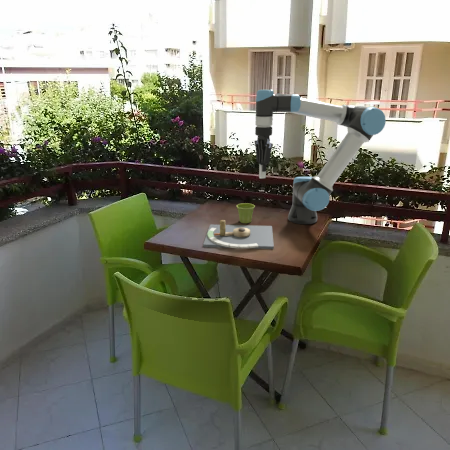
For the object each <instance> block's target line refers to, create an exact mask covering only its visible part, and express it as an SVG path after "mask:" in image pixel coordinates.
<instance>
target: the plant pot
mask: <svg viewBox="0 0 450 450" xmlns="http://www.w3.org/2000/svg"><path fill="white" fill-rule="evenodd" d="M255 207H256V205H254V203H253V204H252V203H248V202H247V203H246V202H245V203H238V204H236V208H237V212H238V218H239V222H240V223H242V224H249V223H252V218H253V212H254V209H255Z"/></svg>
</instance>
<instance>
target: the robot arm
mask: <svg viewBox="0 0 450 450" xmlns="http://www.w3.org/2000/svg"><path fill="white" fill-rule="evenodd" d="M255 97H256V98H255V130H254V131H255V132H254V134H255V136H257V139H255V140H254V146H255V147H254V148H255V154H256V155H255V157H256V162H257V163H258V165H259V166H258V167H259V168H258V169H259V170H258V171H259V172H258V178H259V179H266V178H267V175H266V174H267V165H269V164H270V161H271V156H272V155H271V154H272V149H273V145H274V144H273V143H272V142H270V141H271V138H270V136H272V135H273V127H272V126H273V120H274V119H273V117H274V113H290V114H296V115H299V116H305V117H309V118H315V119H320V120H324V121H330V122H333V123H334V122H335V123H336V124H337V125H339V126H343V127H345V128H346V129H347V134H345V136H344V138H343V139H342V140H341V142H340V143H339V144H338V146H337V147H336V149H335V150H334V152H333V153H332V155H331V156H330V157H329V159H328V160H327V161H326V163H325V164H324V166H323V167H322V168H321V170H320V172H318V174H317V175H315V176H296V177H294V178H293V183H292V205H291V208H290V210H289V211H288V212H289V213H288V214H287V215H288V216H287V219H288V221H289V222H290V223H293V224H298V225H312V224H315V223H317V221H318V213H317V211H318V212H319V211H322V210H324V209H325V208H326V207H327V206H328V205H329V203H330V195H331V193H332V192H333V191H334V189H333V186H334V184H335V183H336V182H337V180H338V179H339V177H340V176H341V175H342V174H343V172H344V171H345V169H346V168H347V166H348V165H349V164H350V163H351V161H352V160H353V158H354V157H355V156H356V154H357V153H358V151H359V150H360V148H361V147H362V145H364V143H369V142H370V141H371V139H372V138H373V136H376V135H378V134H379V133H381V132H382V131H383V130H384V128H385V126H386V122H387V121H386V115H385V113H384V112H383V110H382V109H380V108H378V107H376V106H367V105H347V104H341V105H336V104H332V103H328V102H323V101H317V100H313V99H309V98H303V97H301V96H300V94H298V93H297V94H295V93H288V94H287V93H279V92H278V93H275V92H274V90H273V89H258V90H257V91H256V96H255Z"/></svg>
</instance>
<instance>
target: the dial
mask: <svg viewBox="0 0 450 450" xmlns="http://www.w3.org/2000/svg"><path fill="white" fill-rule="evenodd" d="M219 225H220V233H214V236H215V235H220V236H229V235H234V236H236V237H248V236H250V229H248V228H236V229H234V230H233V232H226V225H227V224H226V220H225V219H221V220H219Z"/></svg>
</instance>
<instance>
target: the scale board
mask: <svg viewBox="0 0 450 450" xmlns="http://www.w3.org/2000/svg"><path fill="white" fill-rule="evenodd" d="M225 225H226V232H233V230H234V229H236V228H248V229H250V236H248V237H236V236H234V235H229V236H220V235H215V236H214V233H220V224H209V227H208V229H207V233H206V236H205V238H204V241H203V244H202V247H203V248H222V247H223V248H226V249H227V248H228V249H258V250H259V249H260V250H262V249H263V250H275V249H274V248H275V245H274V236H273V235H274V234H273V226H272V225H250V224H249V225H248V224H247V225H246V224H225Z"/></svg>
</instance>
